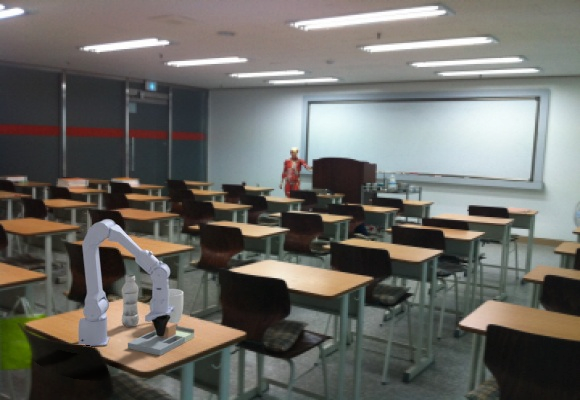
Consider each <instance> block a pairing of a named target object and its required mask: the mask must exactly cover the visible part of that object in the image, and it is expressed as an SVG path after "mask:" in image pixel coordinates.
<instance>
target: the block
mask: <svg viewBox="0 0 580 400" xmlns="http://www.w3.org/2000/svg"><path fill="white" fill-rule="evenodd" d="M176 326H177V325H176V324H175V323H170V322H168V323H167V325H166V329H165V332H164V336H162V337H166V338H170V337H172V336H174V335H176Z"/></svg>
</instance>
